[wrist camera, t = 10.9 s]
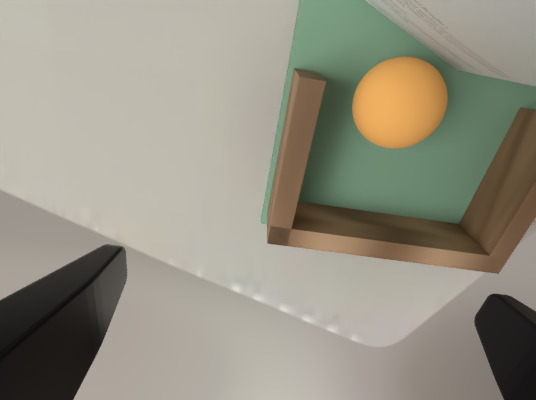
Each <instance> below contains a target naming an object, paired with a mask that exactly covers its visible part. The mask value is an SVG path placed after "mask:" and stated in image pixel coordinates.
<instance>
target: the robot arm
mask: <svg viewBox="0 0 536 400" xmlns="http://www.w3.org/2000/svg"><path fill="white" fill-rule="evenodd" d="M126 279H127V264H126V251H125V248H124V247H122V246H117V245H110V244H106V245H103V246H101V247H99V248H97V249H95V250H93V251H92V252H90V253H88V254H86V255H84V256H82V257H80V258H78V259H77V260H75V261H73V262H71V263H69V264H67V265H65V266H63V267H62V268H60V269H58V270H56V271H54V272H52V273H50V274H48V275H47V276H45V277H43V278H41V279H39V280H37V281H35V282H33V283H32V284H30V285H28V286H26V287H24V288H22V289H20V290H18V291H16V292H14V293H13V294H11V295H9V296H7V297H5V298H3V299H1V300H0V400H73V399H74V397H75V395H76V393H77V391H78V389H79V388H80V386H81V384H82V382H83V380H84V378H85V376H86V374H87V372H88V370H89V368H90V366H91V364H92V362H93V361H94V359H95V357H96V355H97V353H98V351H99V348H100V347H101V344H102V342H103V339H104V337H105V335H106V332H107V329H108V327H109V324H110V322H111V319H112V316H113V314H114V311H115V309H116V306H117V304H118V301H119V299H120V296H121V293H122V291H123V288H124V285H125V283H126ZM474 321H475V327H476V330H477V332H478V335H479V338H480V340H481V343H482V346H483V348H484V351H485V353H486V356H487V359H488V362H489V364H490V367H491V369H492V372H493V375H494V377H495V380H496V382H497V385H498V387H499V389H500V392H501V394H502V396H503V398H504V400H536V311H534V310H532V309H531V308H529V307H528V306H526V305H524V304H523V303H521V302H519V301H518V300H516V299H514V298H513V297H511V296H508V295H501V294H492V295H489V296H488V297H487V299H486V300H485V302H484V303H483V305H482V306H481V308H480V309H479V311H478V312H477V314H476V316H475V320H474Z"/></svg>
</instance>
